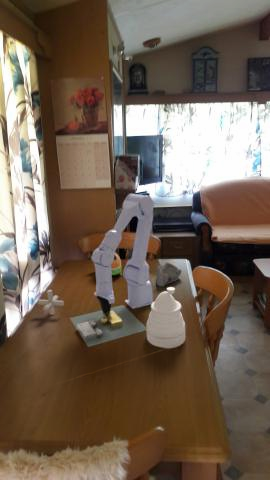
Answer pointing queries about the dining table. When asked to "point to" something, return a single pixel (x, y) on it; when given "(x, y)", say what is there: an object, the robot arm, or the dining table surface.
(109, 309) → the robot arm
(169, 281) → the mineral rock
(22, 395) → the dining table surface
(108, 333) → the mat
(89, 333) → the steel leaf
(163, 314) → the honey pot
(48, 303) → the pipe connector
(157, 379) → the dining table surface
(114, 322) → the tan knobbed block
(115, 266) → the turtle holder
